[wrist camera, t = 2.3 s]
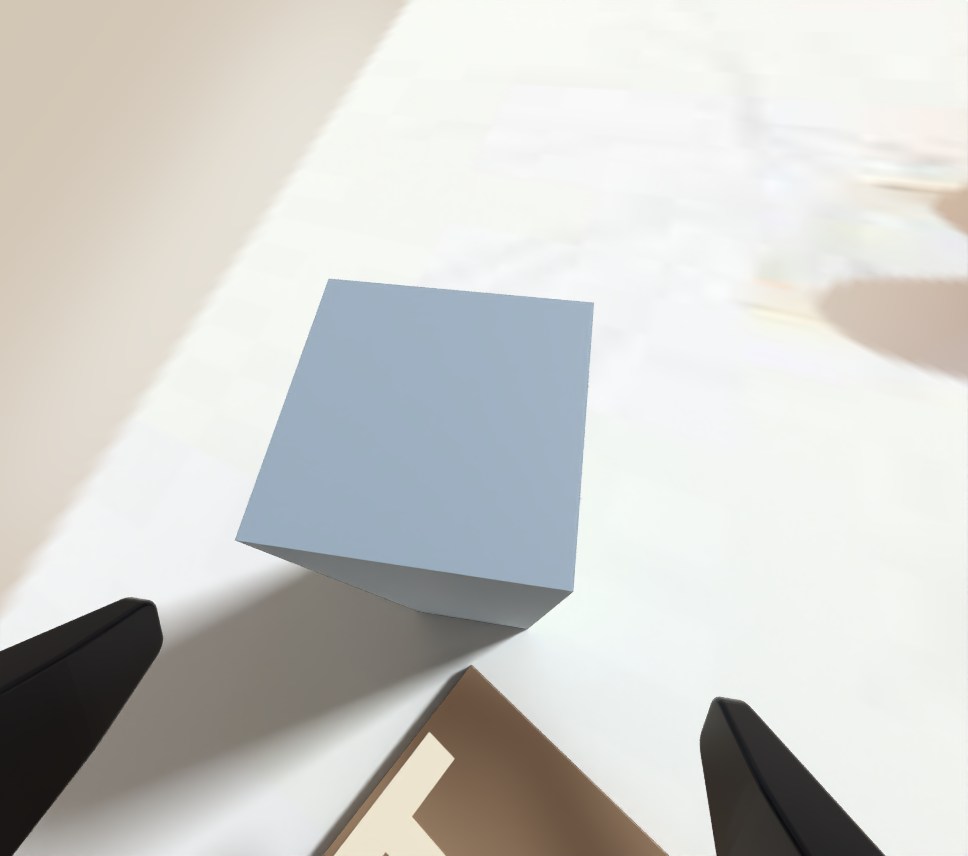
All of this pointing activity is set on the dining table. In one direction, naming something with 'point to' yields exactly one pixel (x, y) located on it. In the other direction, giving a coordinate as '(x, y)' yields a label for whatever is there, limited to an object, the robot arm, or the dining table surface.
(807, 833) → the robot arm
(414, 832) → the board
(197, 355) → the dining table surface
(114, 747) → the dining table surface
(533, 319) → the slate-blue block
